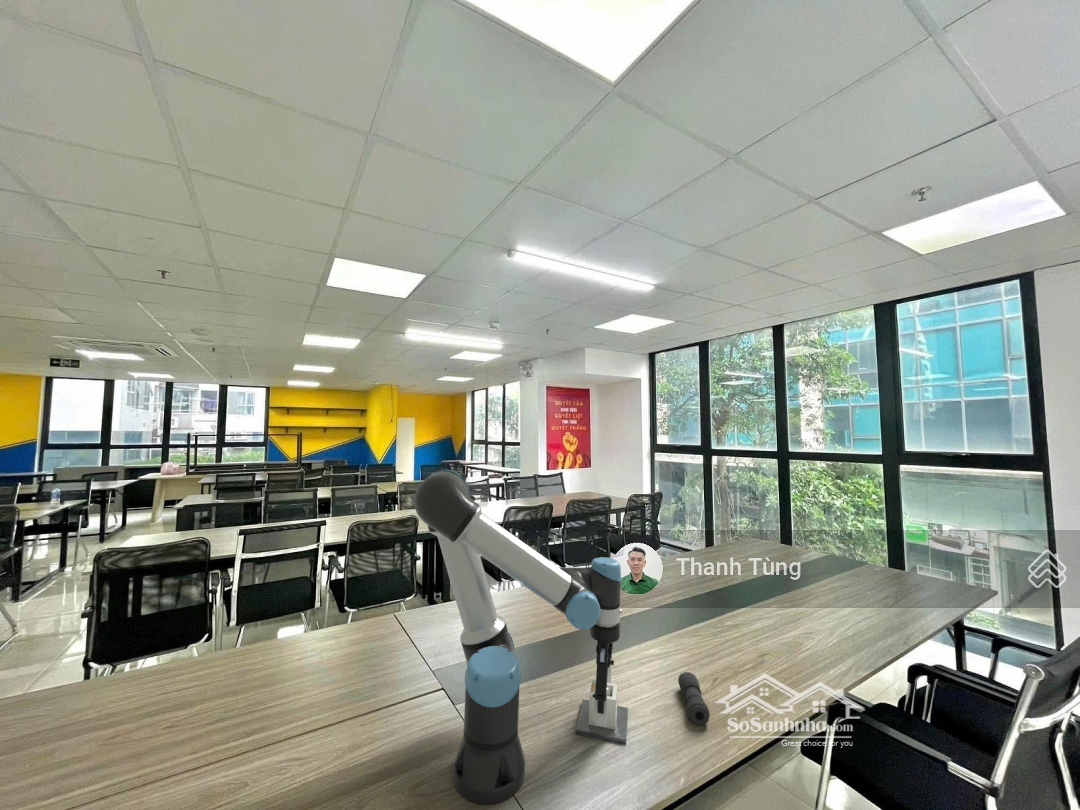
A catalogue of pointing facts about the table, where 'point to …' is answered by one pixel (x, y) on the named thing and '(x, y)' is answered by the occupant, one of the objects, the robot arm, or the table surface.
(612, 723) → the white hollow block
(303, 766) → the table surface
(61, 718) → the table surface
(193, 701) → the table surface
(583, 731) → the shaft block
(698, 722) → the flashlight
